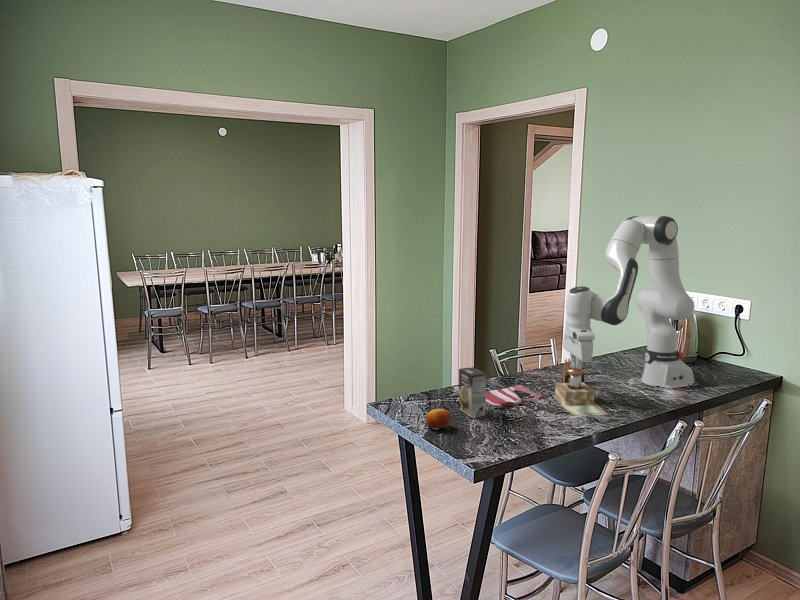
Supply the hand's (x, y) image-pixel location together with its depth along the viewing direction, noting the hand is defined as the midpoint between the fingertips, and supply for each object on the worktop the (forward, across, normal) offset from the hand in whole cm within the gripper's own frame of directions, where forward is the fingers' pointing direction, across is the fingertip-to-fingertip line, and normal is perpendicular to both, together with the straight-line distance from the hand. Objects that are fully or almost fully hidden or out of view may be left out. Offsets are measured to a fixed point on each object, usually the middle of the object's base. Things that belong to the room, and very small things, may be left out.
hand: (576, 366), depth 224 cm
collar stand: (+14, +5, 0) cm, 15 cm away
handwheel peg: (+10, 0, 0) cm, 10 cm away
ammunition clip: (+14, -20, +7) cm, 26 cm away
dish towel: (+15, -7, -24) cm, 29 cm away
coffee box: (+14, +8, -41) cm, 44 cm away
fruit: (+14, +20, -55) cm, 60 cm away
